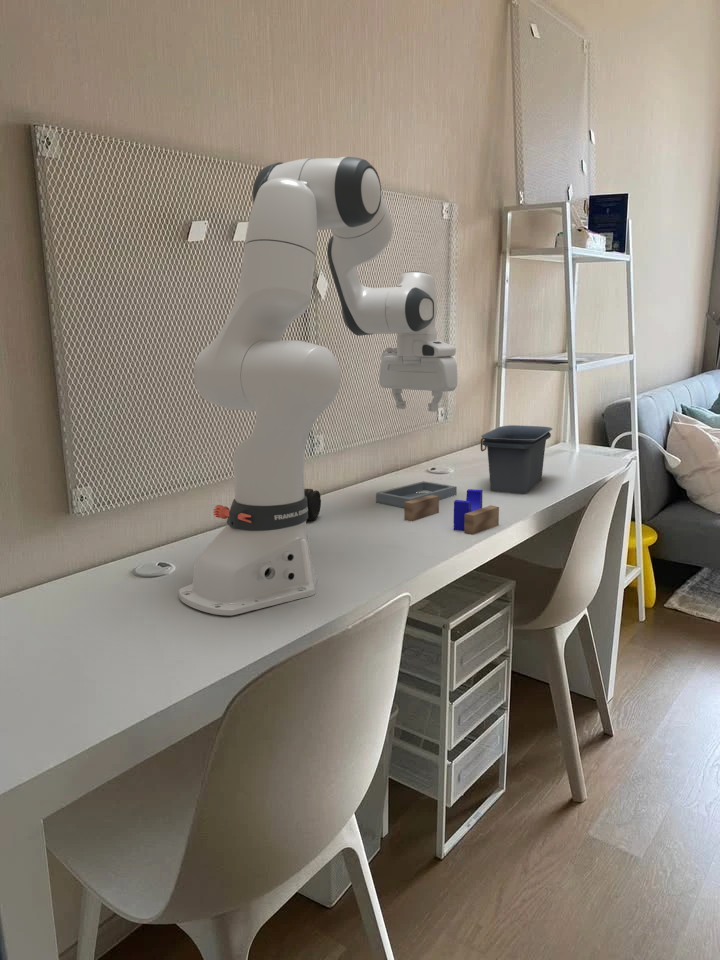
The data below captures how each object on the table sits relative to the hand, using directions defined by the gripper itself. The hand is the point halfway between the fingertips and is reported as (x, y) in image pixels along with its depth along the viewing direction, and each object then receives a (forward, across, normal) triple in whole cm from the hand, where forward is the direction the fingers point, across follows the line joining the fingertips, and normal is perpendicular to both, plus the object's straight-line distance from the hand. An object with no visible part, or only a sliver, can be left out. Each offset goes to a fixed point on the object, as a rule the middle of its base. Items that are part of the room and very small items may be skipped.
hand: (416, 410), depth 170 cm
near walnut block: (+21, +26, -11) cm, 35 cm away
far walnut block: (+21, +10, -11) cm, 26 cm away
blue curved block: (+22, +20, -9) cm, 31 cm away
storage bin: (+21, +10, +25) cm, 34 cm away
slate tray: (+21, 0, 0) cm, 21 cm away
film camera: (+21, -9, -30) cm, 38 cm away
